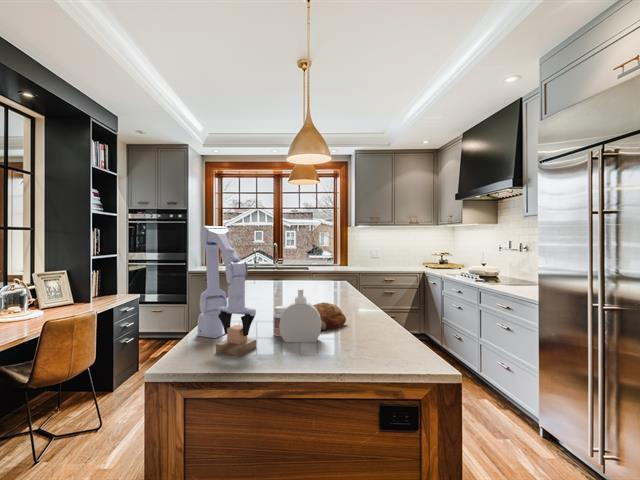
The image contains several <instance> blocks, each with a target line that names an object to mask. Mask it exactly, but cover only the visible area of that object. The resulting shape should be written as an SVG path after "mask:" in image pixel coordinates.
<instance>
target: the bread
mask: <svg viewBox="0 0 640 480" xmlns="http://www.w3.org/2000/svg"><path fill="white" fill-rule="evenodd" d="M312 305H313V306H314V307H316V309H317V311H318V312H319V314H320V318H321V331H331V330H335V329H339V328H340V327H342V326H343V325H345V323H346V322H347V318H346V315H345V314H344V313H343V312H342V310H341V308H339V306H338V305H336V304H334V303H330V302H320V303H316V304H312Z"/></svg>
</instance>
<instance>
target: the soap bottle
mask: <svg viewBox="0 0 640 480" xmlns="http://www.w3.org/2000/svg"><path fill="white" fill-rule="evenodd" d="M313 305H314V304H311V303H310V302H307V298H306V297H305V296H304V288H297V296H296V297H295V298H294V301H293V302H291V303H290V304H288V306H287V307H286V309H285V310H284V312H283V314H282V315H281V318H280V323H279V329H280V334H281V336H280V337H281V338H282V340H283V341H284V343H297V342H304V343H305V342H307V344H308V343H309V344H311V343H313V344H315V343H317V340H318V339H319V337H320V335H321V331H322V330H321V318H320V314H319V312H318V311H317V309H316V307H314V306H313Z"/></svg>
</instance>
